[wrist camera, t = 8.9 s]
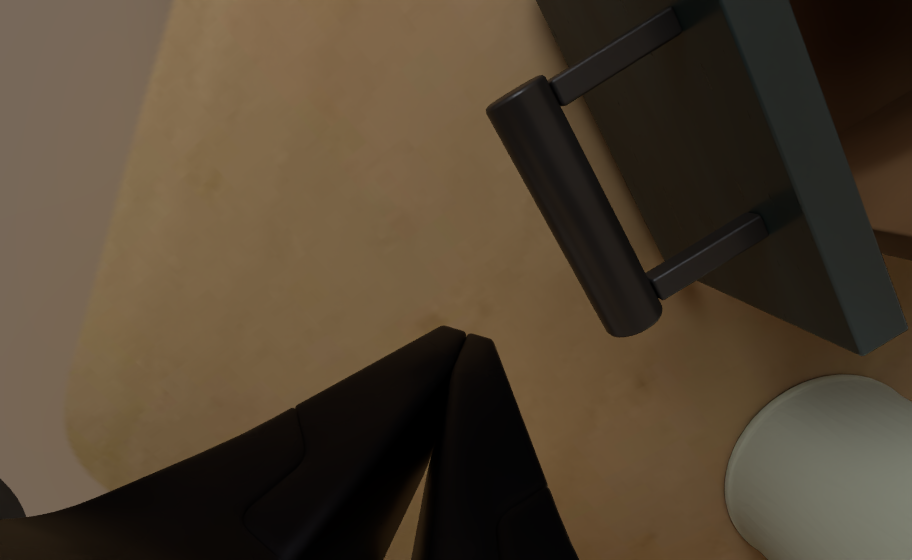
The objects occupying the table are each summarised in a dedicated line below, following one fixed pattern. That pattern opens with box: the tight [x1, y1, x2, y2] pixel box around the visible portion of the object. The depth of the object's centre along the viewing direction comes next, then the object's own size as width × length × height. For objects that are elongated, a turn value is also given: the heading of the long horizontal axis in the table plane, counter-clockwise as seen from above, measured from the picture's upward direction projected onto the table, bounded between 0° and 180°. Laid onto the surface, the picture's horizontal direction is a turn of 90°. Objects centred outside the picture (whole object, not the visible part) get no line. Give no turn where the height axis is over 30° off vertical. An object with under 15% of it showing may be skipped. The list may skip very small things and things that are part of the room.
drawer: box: [486, 0, 912, 356], centre depth 15 cm, size 18×11×9 cm, turn 121°
